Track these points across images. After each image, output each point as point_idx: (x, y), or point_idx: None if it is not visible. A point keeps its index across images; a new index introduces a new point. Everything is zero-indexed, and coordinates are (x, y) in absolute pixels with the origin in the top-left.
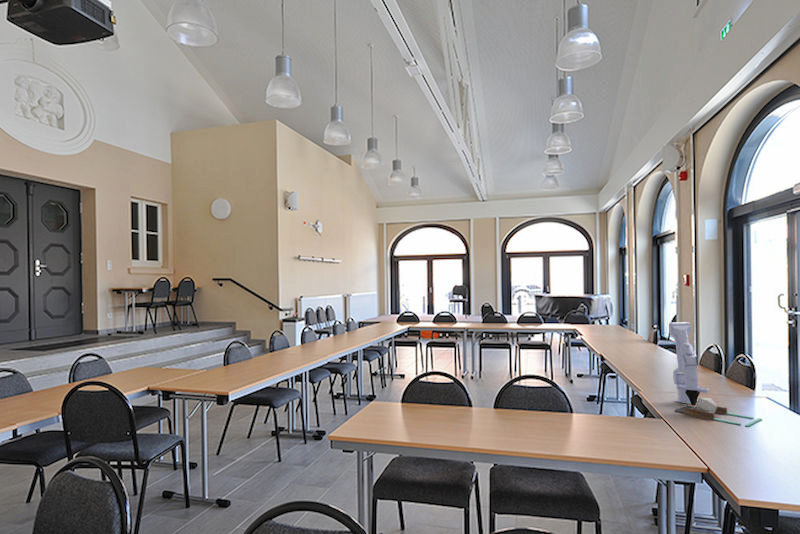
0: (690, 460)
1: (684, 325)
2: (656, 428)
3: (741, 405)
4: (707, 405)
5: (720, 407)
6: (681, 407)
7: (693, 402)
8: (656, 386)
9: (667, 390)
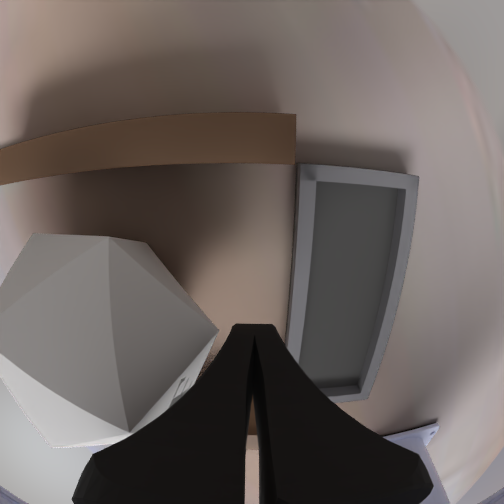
0: None
1: None
2: None
3: None
4: (7, 276)
5: None
6: (389, 309)
7: (229, 346)
8: (473, 475)
9: (450, 480)
